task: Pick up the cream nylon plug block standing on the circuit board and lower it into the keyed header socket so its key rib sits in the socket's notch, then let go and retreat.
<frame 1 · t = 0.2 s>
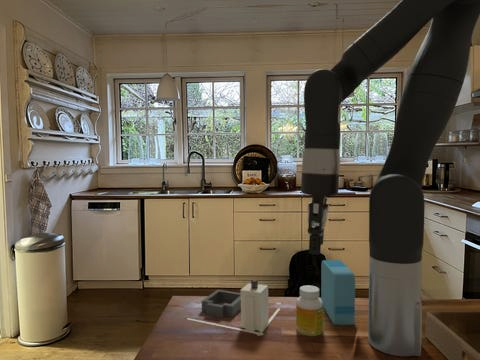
hand: (316, 248, 73), 18 cm above the table, tool pointing down, fingers open, 8 cm apart
supplement bottle: (309, 335, 72), on the table
header socket: (224, 311, 84), resting on header board
data package: (336, 318, 80), on the table
header board: (235, 318, 80), on the table
plug: (255, 324, 75), point 1 cm above the table, touching header board
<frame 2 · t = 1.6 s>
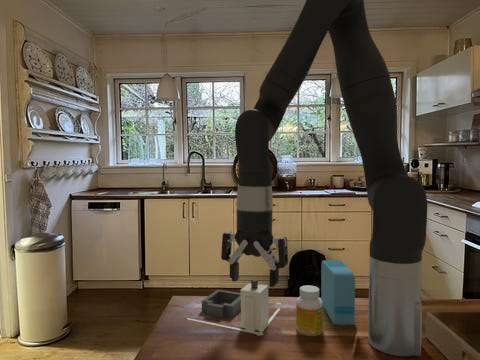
hand: (253, 283, 74), 10 cm above the table, tool pointing down, fingers open, 8 cm apart
nothing on the table moved.
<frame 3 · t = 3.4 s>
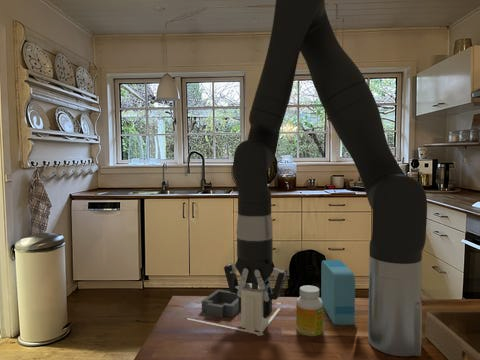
hand: (255, 314, 74), 3 cm above the table, tool pointing down, fingers closed on plug, 4 cm apart
plug: (255, 324, 75), point 1 cm above the table, touching gripper, header board
everything else where it was.
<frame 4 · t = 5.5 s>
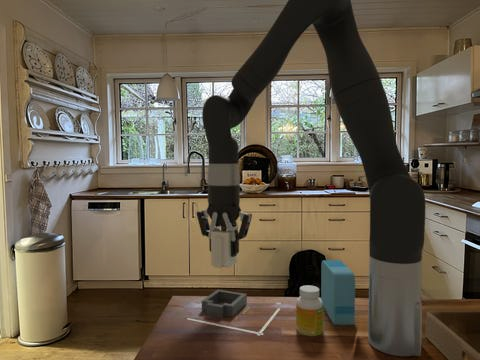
hand: (224, 254, 83), 14 cm above the table, tool pointing down, fingers closed on plug, 4 cm apart
plug: (224, 263, 83), point 12 cm above the table, touching gripper
everything else where it was.
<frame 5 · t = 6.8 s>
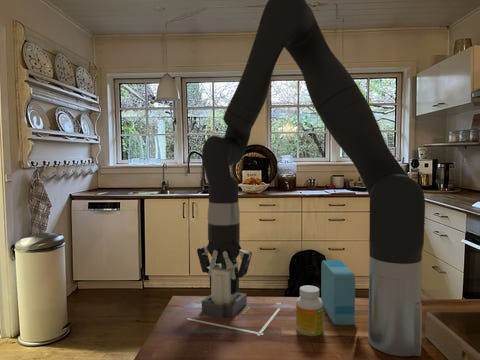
hand: (224, 291, 83), 5 cm above the table, tool pointing down, fingers closed on plug, 4 cm apart
plug: (224, 300, 83), point 3 cm above the table, touching gripper
everything else where it was.
when the fingers open (4 cm above the table, at t = 7.7 s): plug drops 1 cm, resting on header board.
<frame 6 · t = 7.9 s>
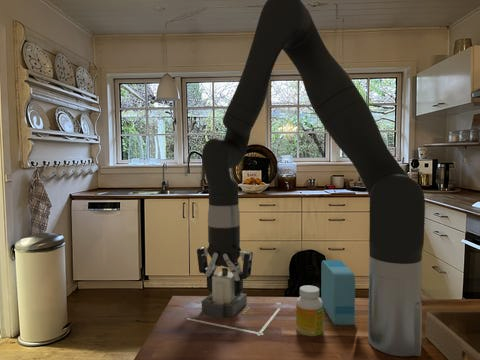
hand: (224, 292, 83), 5 cm above the table, tool pointing down, fingers open, 6 cm apart
plug: (225, 307, 84), point 1 cm above the table, touching header board
everything else where it was.
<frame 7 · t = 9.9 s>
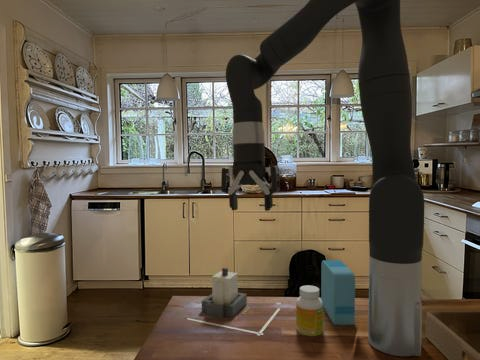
hand: (250, 210, 84), 24 cm above the table, tool pointing down, fingers open, 8 cm apart
nothing on the table moved.
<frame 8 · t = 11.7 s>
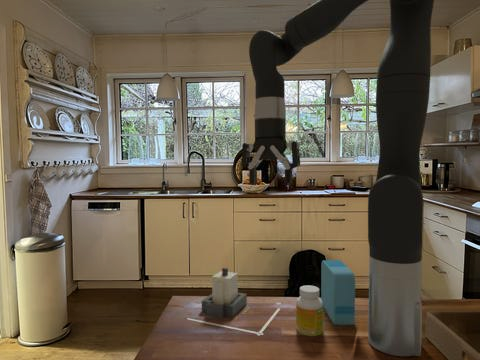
hand: (270, 185, 85), 30 cm above the table, tool pointing down, fingers open, 8 cm apart
nothing on the table moved.
at the end: plug 0.2 cm off-centre on the header socket, point 1.0 cm above the header socket's base; plug tilted 0°; the gripper is holding nothing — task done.
